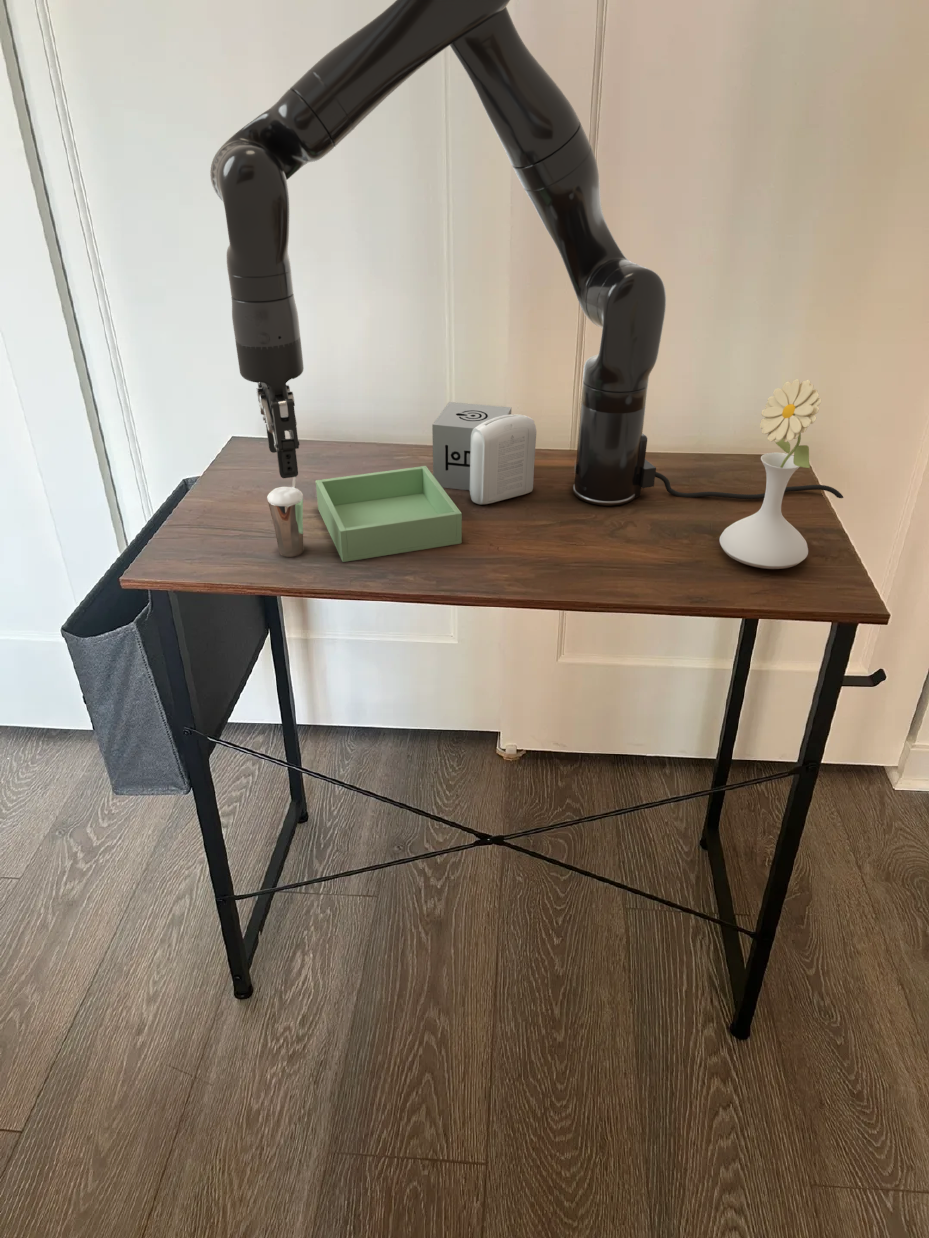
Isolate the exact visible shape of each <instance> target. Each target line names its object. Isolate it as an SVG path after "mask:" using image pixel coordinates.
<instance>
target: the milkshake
mask: <svg viewBox="0 0 929 1238" xmlns="http://www.w3.org/2000/svg"><path fill="white" fill-rule="evenodd" d="M296 482H297V476H296V477H292V483H291V486H280V487H275V488H273V489H272V490H271V491H270V492H269V493H268V494H267V497H266V500H267V504H268V509H269V512H270V516H271V520H272V523H273V526H274V527H273V528H274V533H275V538H276V543H277V548H278V551H279V555H280V556H282V557H285V558H294V557H298V556H300V555H301V554H302V553H303V552H304V494H303V491H301V490H300V489H298V488H296V485H297V483H296Z"/></svg>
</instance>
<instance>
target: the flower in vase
mask: <svg viewBox="0 0 929 1238" xmlns="http://www.w3.org/2000/svg"><path fill="white" fill-rule="evenodd" d="M772 393H773V395H770V396H769V397H768V398H767V402H766V403H765V408H764V409H762V411H761V416H762V417H763V418H762V419H761V420H760V424H759V427H760V429H761V433H762V434H763V435H767V437H766V438H767V442H769V443H770V442H774V443H775V444H776V445H777V446H778V447H779V448H780V449H781V450H782V451H784V452H776V451H775V452H767V453H764V454H762V455H761V456H760V461H761V462H762V464H763V467H764V469H765V470H764V471H765V475H766V477H765V478H766V484H765V492H764V493H765V497H764V498H763V501H762V503H761V504H762V505H761V507H760V508H759V510H757V511H756V512H755V513H753V514H751V515H749V516H745V517H743V518H741V519H739V520H736V521H735V522H733V523H731V524H730V525H729V526H727V527H725V529H724V530H723V531H722V533H721V534H720V535H719V544H720V546H721V549H722V550H723V552H724V553H725V554H726V555H727V556H729V558H731V559H733V560H735V561H737V562H739V563H741V564H743V565H747V566H750V567H754V568H760V569H765V570H766V569H767V570H780V569H782V570H783V569H789V568H792V567H795V566H797V565H799V564H801V563H802V562H803V561H804V560H805V559H806V558H807V557H808V555H809V548H808V547H809V546H808V543H807V541H806V539H805V538H804V537H803V534H801V532H800V531H799V530H798V529H797V528H796V527H794V526H793V525H792V524H791V523H790V522H789V521H787V519H786V518H785V517H784V516H783V513H782V503H783V498H784V495H785V492H784V491H785V488H786V487H788V483H789V481H790V479H791V477H792V476H793V474H794V473H795V472H796V471H797V470H798V469H799V468H804V469H805V468H806V469H810V468H811V465H810V448H809V445H807V444H802V445H801V444H800V443H801V439H802V434H803V433H805V432H806V431H807V430H808V428H809V427H810V425H813V424H814V423H815V422H816V420H817V416H816V414H818V413H819V411H820V408H819V406H820V405H821V403H822V398H821V397H820V394H819V392H818V389H817V388H816V389H815V388H814V383H811V381H810V379H806V380H803V381H802V382H800V379H798V378H796V379H794V380H792V382H790V381H786V382H784V383H783V386H782V387H781V388H780V387H776V388H775V389H774V390H773V392H772ZM801 433H802V434H801ZM796 439H797V440H796ZM793 440H796V441H797V442H796V443H795V445H794V447H793V448H792V449H791V444H790V442H792V441H793Z"/></svg>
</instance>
